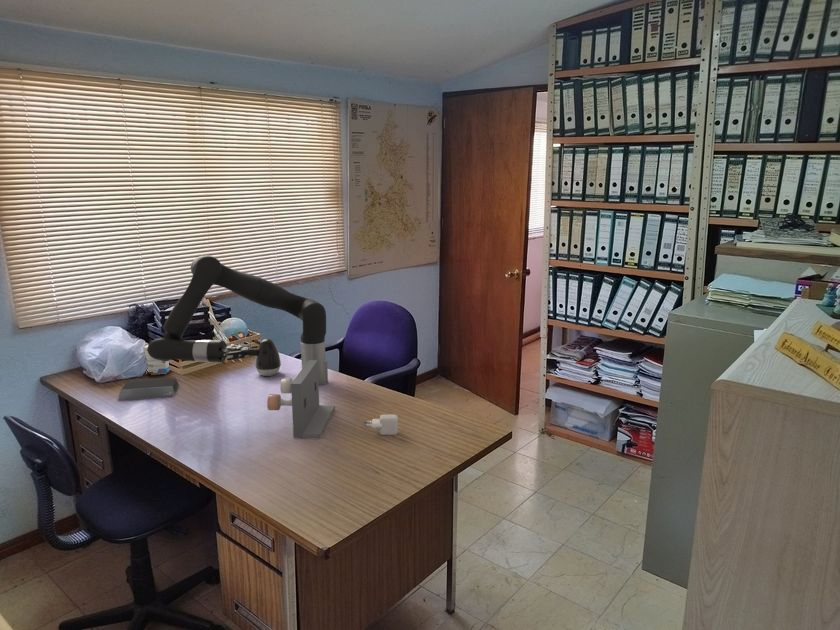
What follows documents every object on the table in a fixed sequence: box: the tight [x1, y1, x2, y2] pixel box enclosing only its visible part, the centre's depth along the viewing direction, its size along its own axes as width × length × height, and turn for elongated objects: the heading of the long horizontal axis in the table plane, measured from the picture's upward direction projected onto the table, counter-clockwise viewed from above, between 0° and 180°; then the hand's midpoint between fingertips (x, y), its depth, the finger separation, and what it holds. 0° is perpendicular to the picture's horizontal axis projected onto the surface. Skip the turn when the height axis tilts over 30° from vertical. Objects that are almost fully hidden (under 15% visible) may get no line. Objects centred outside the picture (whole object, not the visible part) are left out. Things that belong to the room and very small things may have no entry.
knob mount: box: [290, 360, 336, 440], centre depth 198 cm, size 8×24×18 cm, turn 177°
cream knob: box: [280, 378, 294, 394], centre depth 205 cm, size 10×5×5 cm, turn 87°
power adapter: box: [362, 414, 399, 436], centre depth 192 cm, size 11×5×6 cm, turn 92°
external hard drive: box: [118, 377, 180, 401], centre depth 226 cm, size 13×19×4 cm
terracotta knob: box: [266, 393, 292, 411], centre depth 191 cm, size 10×5×5 cm, turn 87°
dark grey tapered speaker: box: [253, 338, 282, 377], centre depth 246 cm, size 10×10×15 cm
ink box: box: [143, 344, 170, 373], centre depth 248 cm, size 9×5×12 cm, turn 84°
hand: (260, 352), depth 203 cm, fingers closed
